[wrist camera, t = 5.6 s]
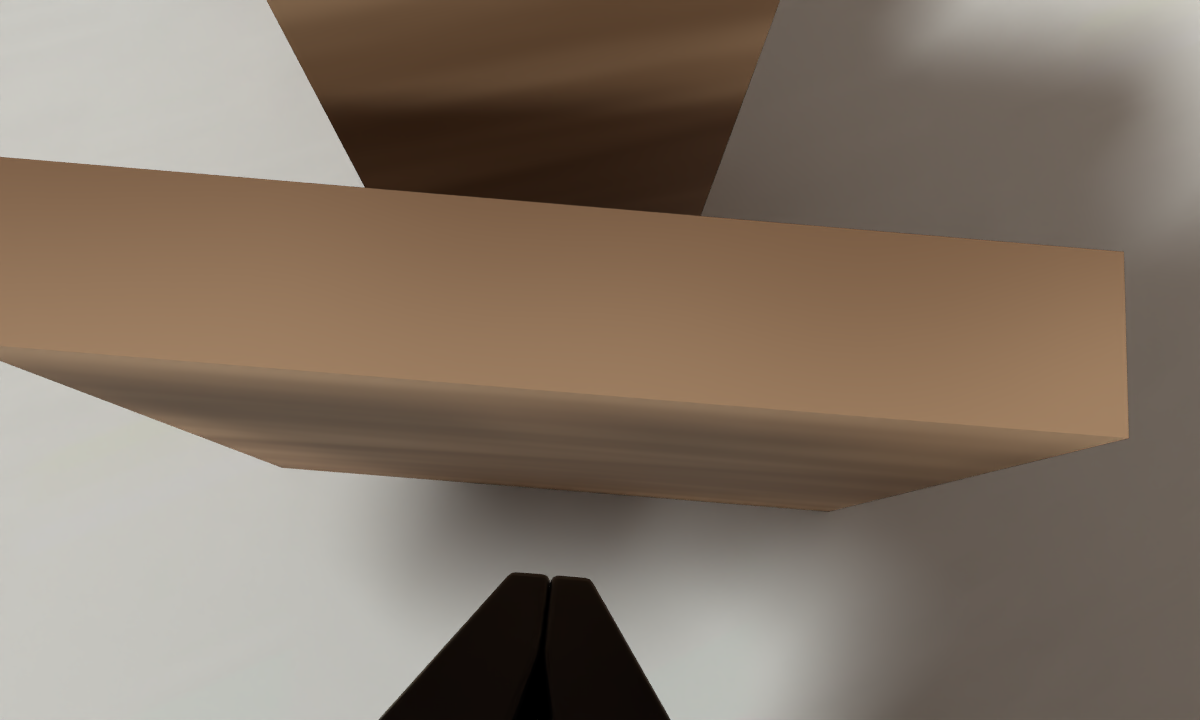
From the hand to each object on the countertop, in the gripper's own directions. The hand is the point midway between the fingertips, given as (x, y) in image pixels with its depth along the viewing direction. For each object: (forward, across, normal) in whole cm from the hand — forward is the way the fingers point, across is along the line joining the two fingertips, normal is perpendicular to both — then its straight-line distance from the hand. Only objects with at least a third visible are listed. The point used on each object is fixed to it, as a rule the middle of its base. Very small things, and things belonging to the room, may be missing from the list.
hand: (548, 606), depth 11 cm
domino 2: (+7, 0, -3) cm, 8 cm away
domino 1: (+10, -1, -1) cm, 10 cm away
